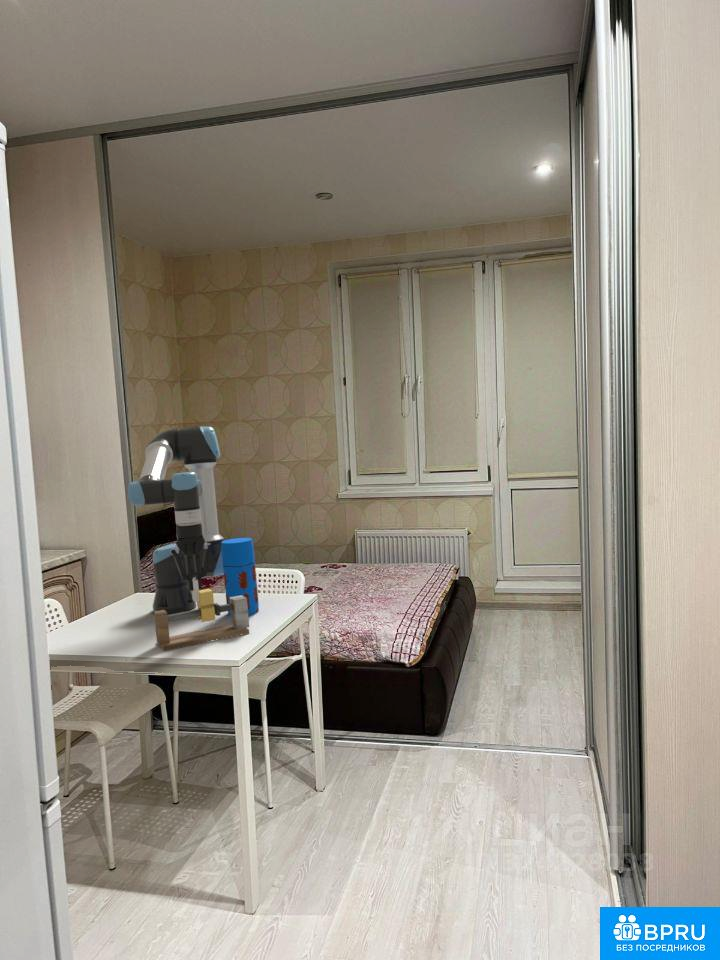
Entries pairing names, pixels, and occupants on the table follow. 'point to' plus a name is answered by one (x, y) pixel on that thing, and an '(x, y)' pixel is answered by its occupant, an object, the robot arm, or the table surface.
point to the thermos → (240, 571)
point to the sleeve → (206, 605)
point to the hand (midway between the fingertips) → (196, 600)
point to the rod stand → (236, 628)
